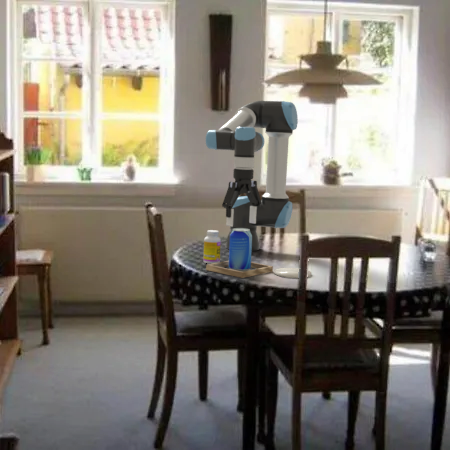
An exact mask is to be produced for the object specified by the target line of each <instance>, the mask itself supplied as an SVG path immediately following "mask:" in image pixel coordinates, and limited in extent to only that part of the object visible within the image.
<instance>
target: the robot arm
mask: <svg viewBox="0 0 450 450" xmlns="http://www.w3.org/2000/svg"><path fill="white" fill-rule="evenodd" d="M298 122H299V121H298V111H297V107H296V106H295V103H293V102H291V101H290V102H289V101H284V100H283V101H282V100H280V101H278V100H274V101H273V100H255V101H253V102H252V101H251V102H250V103H247V104H245V105H243V106H241V107H239V108H238V109H237V110H236V111H235V113H234V116H232V118H230V119H229V120H228V121H227V122H226V123H225V124H223V125H222V126H221V127H220V128H218V129H209V130H208V131H207V132H206V135H205V145H206V146H205V147H207V149H210V150H216V151H219V150H220V151H234V152H233V154H234V155H233V157H234V158H233V160H234V161H233V168H234V169H233V179H234V181H229V182H228V188H227V190H226V192H225V196H224V199H223V201H222V204H221V206H222V208H223V209H225V219H226V223H225V226H226V227H229V233H228V235H227V239H226V241H225V249H227V250H229V246H230V234H231V232H232V231H233V229H234V228H246V229H250V233H251V235H252V250H251V252H255V251H259V250H260V246H261V244H260V240H259V237H258V232H257V228H258V227H262V228H263V227H264V228H274V229H284V228H286V227H288V225H289V224H290V220H291V218H292V214H293V202H292V201H290V198H289V196H288V194H287V192H286V190H287V175H288V174H287V173H288V156H289V155H288V154H289V139H290V137H291V136H292V135H293V133H294V132H293V131H294V130H297V127H298ZM256 128H258V129H259V128H260V129H265V133H266V135H267V136H268V143H267V144H268V146H267V165H266V181H265V183H266V184H265V192H264V193H263V194H261V196H260V192H259V189H258V181H257V180H253V179H254V173H255V172H254V171H255V170H254V168H255V153H256V152H259V151H260V150H262V149H263V147H264V146H265V138H264V136H263V134H261V133H260V132H257V131H256ZM243 194H245V196H244V195H243ZM240 195H242V196H240Z"/></svg>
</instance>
